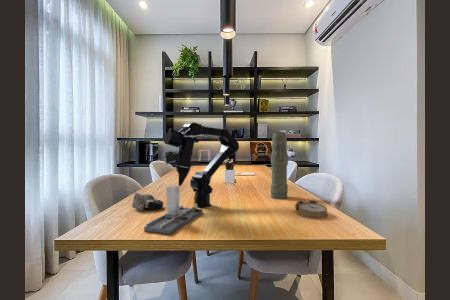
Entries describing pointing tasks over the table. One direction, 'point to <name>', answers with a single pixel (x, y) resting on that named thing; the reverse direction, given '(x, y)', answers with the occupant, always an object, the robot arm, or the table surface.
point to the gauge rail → (172, 221)
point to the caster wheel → (146, 202)
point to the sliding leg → (173, 202)
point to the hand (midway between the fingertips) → (179, 185)
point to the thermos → (279, 166)
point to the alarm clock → (311, 209)
